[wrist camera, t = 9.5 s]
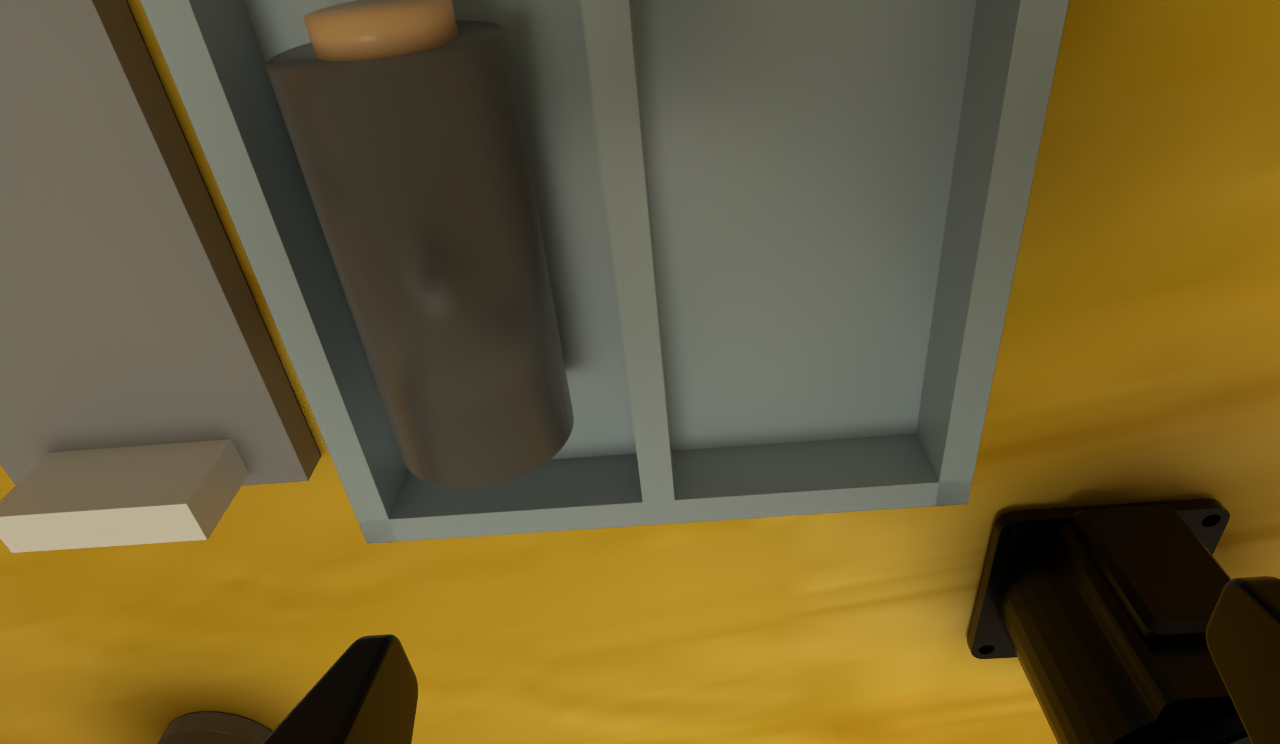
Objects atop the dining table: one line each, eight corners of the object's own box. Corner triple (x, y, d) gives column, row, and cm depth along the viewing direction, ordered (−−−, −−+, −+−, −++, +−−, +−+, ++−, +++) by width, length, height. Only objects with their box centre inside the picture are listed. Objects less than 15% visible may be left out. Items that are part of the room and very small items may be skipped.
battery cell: (583, 376, 19) (560, 486, 16) (429, 383, 20) (376, 492, 16) (518, -23, 14) (466, 17, 11) (312, -2, 15) (202, 42, 11)
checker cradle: (321, 456, 22) (272, 547, 19) (50, 476, 22) (-37, 567, 19) (67, -137, 14) (-81, -134, 11) (-345, -89, 14) (-590, -75, 11)
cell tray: (935, 440, 21) (967, 503, 19) (393, 478, 22) (367, 543, 20) (1057, -331, 12) (1143, -367, 10) (138, -218, 13) (43, -233, 11)
